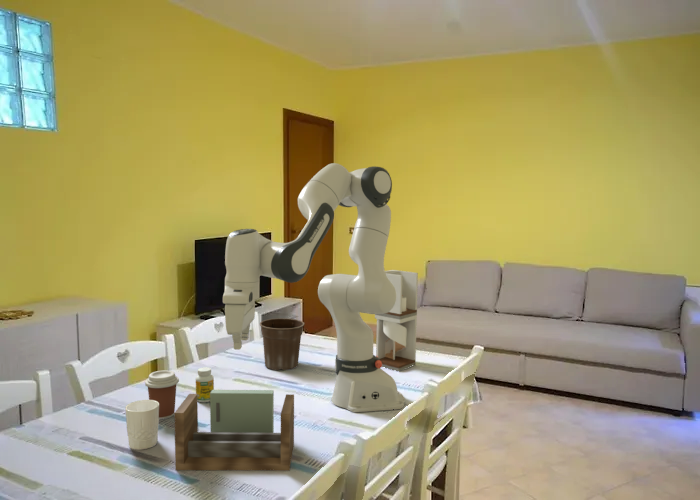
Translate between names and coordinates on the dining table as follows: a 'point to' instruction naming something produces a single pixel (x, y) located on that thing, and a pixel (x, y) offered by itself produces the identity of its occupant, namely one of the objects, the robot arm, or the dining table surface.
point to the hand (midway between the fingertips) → (241, 344)
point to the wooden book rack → (231, 443)
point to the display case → (399, 323)
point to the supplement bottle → (204, 384)
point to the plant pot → (281, 342)
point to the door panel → (242, 411)
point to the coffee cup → (163, 391)
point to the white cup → (142, 423)
